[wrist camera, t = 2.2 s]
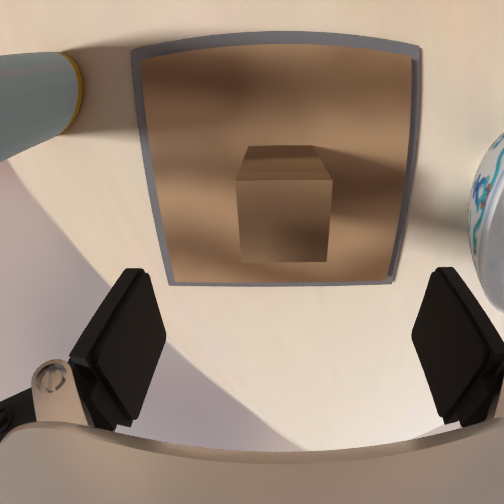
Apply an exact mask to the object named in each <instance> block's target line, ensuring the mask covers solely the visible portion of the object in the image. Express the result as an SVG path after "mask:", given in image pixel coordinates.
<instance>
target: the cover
mask: <svg viewBox="0 0 504 504" xmlns="http://www.w3.org/2000/svg"><path fill="white" fill-rule="evenodd" d="M140 63H141V75H142V86H143V96H144V105H145V114H146V122H147V130H148V138H149V145H150V152H151V159H152V165H153V171H154V178H155V184H156V190H157V195H158V201H159V206H160V212H161V217H162V222H163V227H164V232H165V237H166V242H167V247H168V252H169V256H170V261H171V265H172V270H173V274H174V279H175V282H215V283H297V282H356V281H386V279H387V275H388V270H389V266H390V261H391V257H392V252H393V247H394V242H395V237H396V231H397V226H398V220H399V214H400V208H401V202H402V195H403V188H404V180H405V172H406V163H407V154H408V143H409V130H410V114H411V83H412V63H411V56H407V55H402V54H397V53H391V52H385V51H378V50H371V49H363V48H354V47H343V46H331V45H312V44H259V45H241V46H228V47H217V48H208V49H200V50H192V51H186V52H179V53H173V54H167V55H162V56H157V57H152V58H147V59H142V60H140Z"/></svg>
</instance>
